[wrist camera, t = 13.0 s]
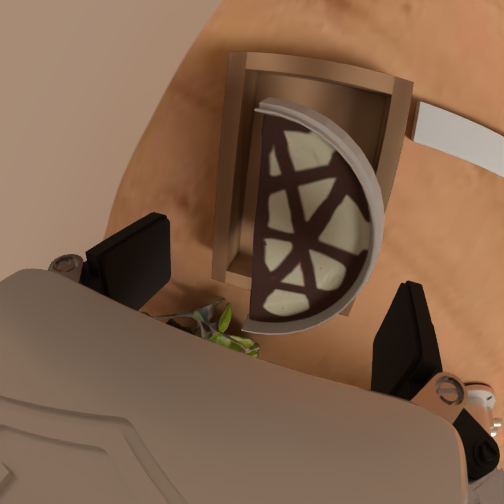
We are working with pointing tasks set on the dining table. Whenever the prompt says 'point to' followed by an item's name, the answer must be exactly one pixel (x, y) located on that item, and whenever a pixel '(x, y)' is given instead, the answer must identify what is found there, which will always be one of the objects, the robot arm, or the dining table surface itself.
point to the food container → (310, 221)
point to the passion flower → (215, 328)
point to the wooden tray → (310, 95)
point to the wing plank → (458, 137)
